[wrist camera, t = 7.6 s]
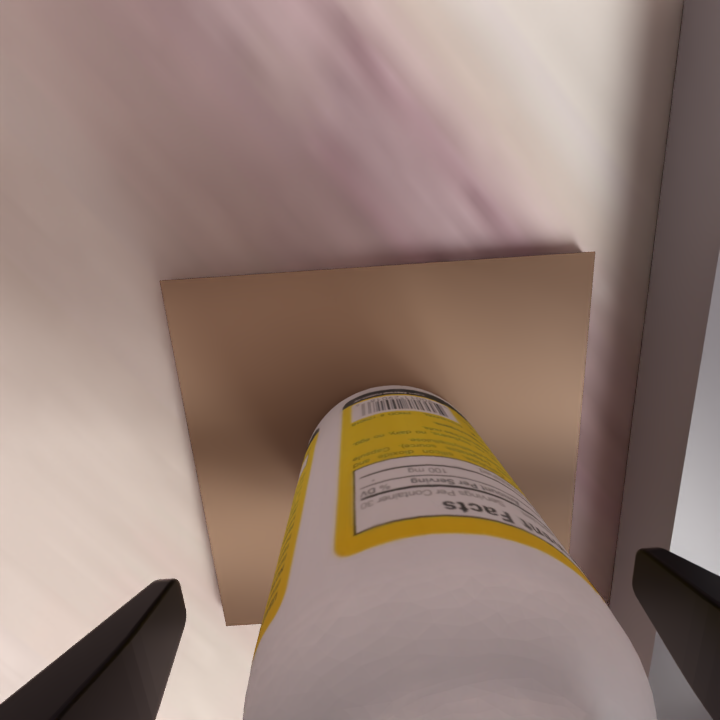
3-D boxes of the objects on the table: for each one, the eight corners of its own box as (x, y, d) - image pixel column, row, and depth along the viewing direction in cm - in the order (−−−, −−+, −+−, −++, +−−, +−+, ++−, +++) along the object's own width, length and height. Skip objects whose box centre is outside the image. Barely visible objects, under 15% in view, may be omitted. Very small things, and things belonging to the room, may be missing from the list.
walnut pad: (556, 592, 14) (564, 604, 13) (230, 612, 14) (226, 626, 13) (584, 252, 11) (595, 251, 10) (168, 279, 11) (159, 280, 10)
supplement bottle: (380, 564, 13) (457, 1498, 3) (270, 454, 11) (-140, 1343, 2) (512, 471, 12) (1185, 1347, 2) (406, 343, 11) (810, 951, 1)
